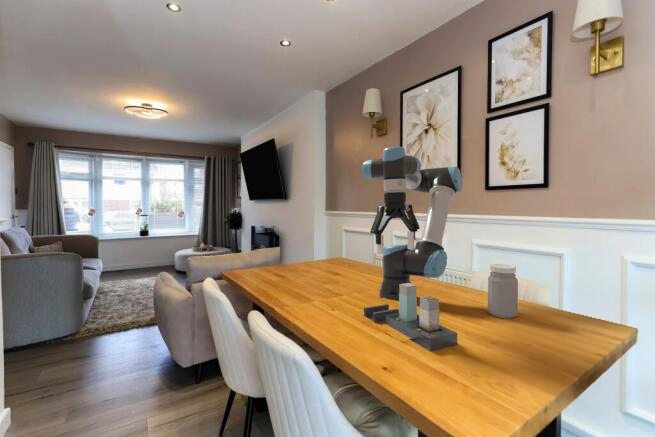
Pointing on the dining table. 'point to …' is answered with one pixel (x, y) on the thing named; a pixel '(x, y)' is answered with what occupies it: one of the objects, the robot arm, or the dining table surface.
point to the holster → (378, 312)
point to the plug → (407, 302)
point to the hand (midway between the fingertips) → (396, 251)
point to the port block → (425, 326)
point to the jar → (503, 291)
